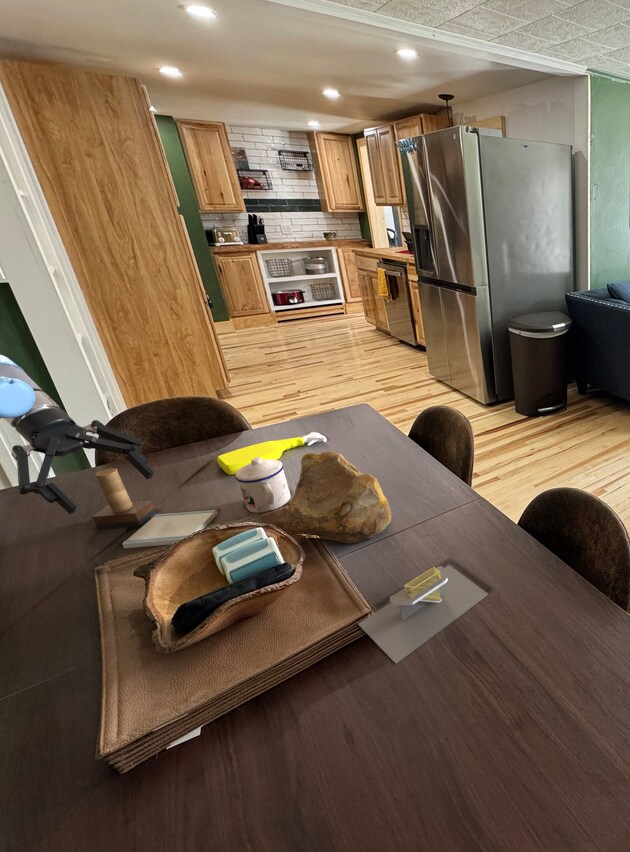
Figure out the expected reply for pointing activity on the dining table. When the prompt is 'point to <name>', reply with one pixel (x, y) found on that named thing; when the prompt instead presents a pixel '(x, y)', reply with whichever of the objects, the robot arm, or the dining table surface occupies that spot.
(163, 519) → the tile
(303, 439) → the spray bottle
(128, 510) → the rubber stamp
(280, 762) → the dining table surface
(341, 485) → the rough brown rock
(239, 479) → the teacup with lid
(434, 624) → the plastering trowel
